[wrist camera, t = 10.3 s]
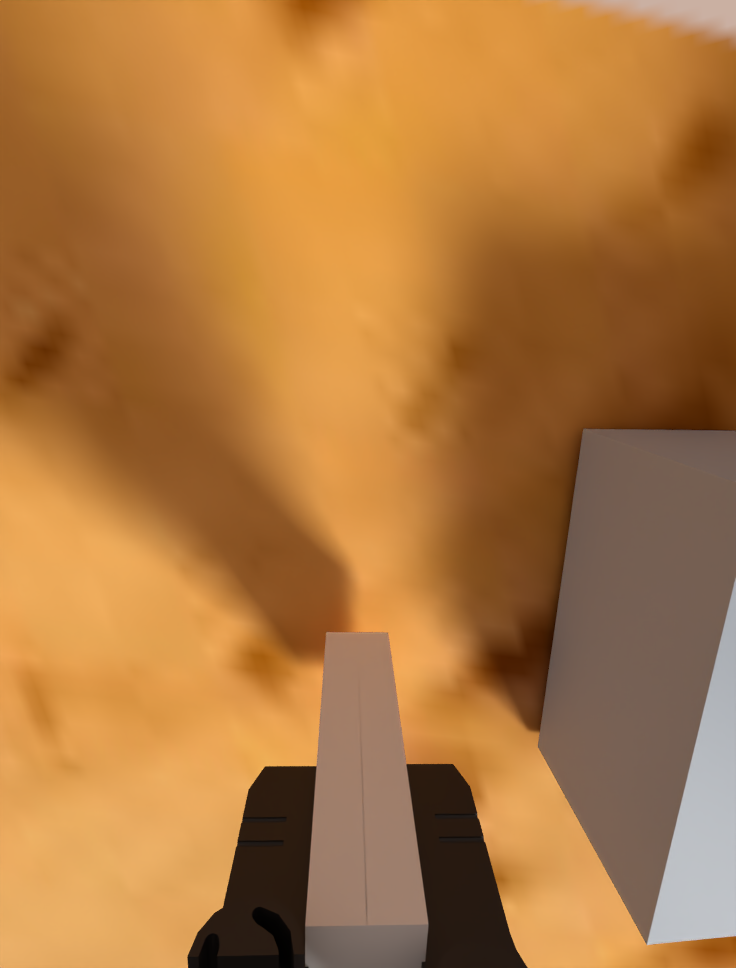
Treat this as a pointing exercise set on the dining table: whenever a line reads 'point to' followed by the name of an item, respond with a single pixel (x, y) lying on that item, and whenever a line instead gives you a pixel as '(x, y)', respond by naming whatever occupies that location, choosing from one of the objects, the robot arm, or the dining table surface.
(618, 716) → the slate block
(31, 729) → the dining table surface
